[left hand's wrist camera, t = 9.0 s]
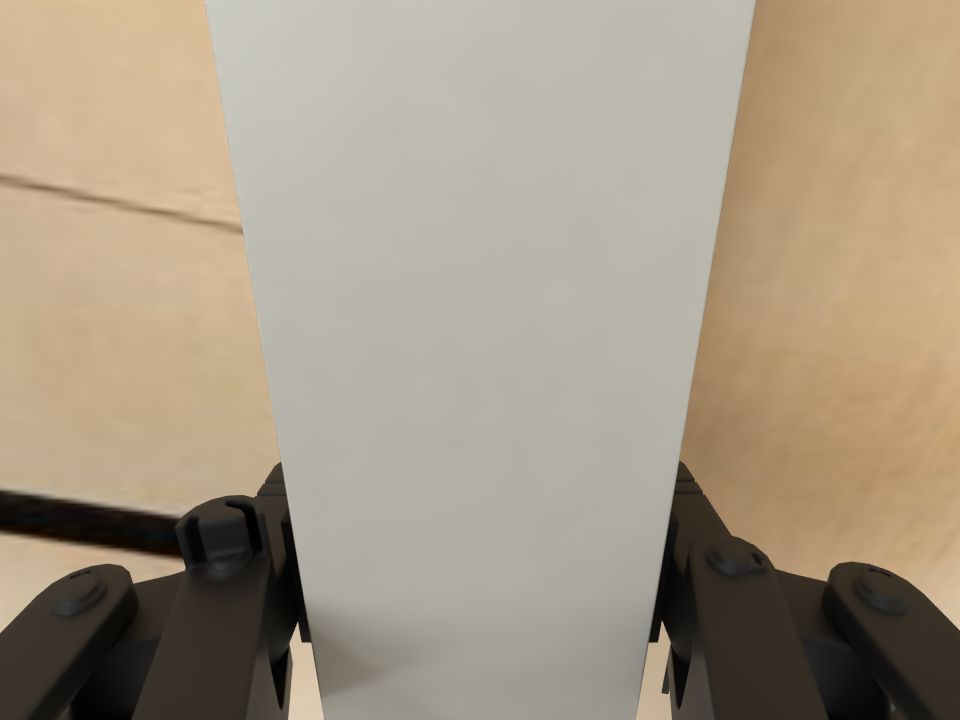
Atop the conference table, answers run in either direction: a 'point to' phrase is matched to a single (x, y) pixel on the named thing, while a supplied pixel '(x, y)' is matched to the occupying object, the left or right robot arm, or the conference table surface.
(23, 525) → the conference table surface
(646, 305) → the post
